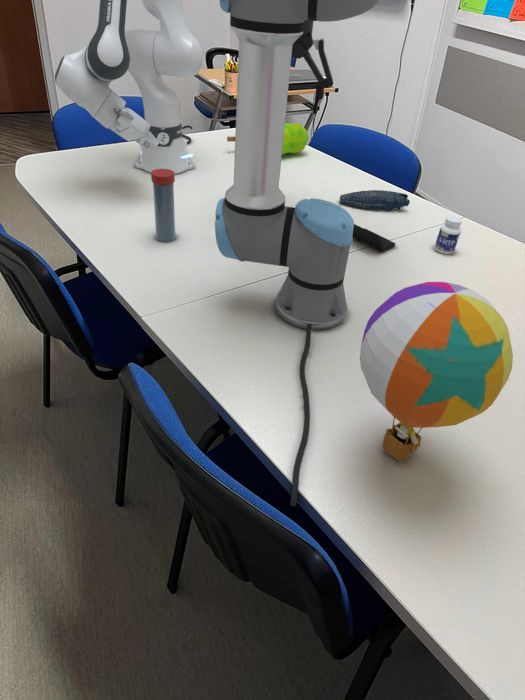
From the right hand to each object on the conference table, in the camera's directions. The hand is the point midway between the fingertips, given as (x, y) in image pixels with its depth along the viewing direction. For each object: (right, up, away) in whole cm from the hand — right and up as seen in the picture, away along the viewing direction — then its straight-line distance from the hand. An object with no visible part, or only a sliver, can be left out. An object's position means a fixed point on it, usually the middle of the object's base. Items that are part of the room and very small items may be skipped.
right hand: (288, 109), depth 135 cm
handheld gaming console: (+22, -34, +5) cm, 41 cm away
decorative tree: (-5, +10, +57) cm, 58 cm away
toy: (+15, -79, -52) cm, 96 cm away
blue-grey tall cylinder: (-32, -33, -1) cm, 46 cm away
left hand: (-38, -4, +13) cm, 41 cm away
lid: (-31, -21, -11) cm, 38 cm away
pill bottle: (+42, -35, +6) cm, 56 cm away
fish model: (+27, -18, +25) cm, 41 cm away
